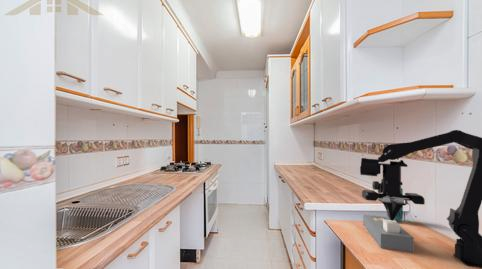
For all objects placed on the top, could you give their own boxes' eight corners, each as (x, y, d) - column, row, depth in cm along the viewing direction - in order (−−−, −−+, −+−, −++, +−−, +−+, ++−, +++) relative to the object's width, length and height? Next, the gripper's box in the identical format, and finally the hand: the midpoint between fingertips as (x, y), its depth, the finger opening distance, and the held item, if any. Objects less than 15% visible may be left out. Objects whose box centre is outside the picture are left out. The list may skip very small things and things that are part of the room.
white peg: (395, 233, 84) (395, 220, 84) (399, 237, 80) (399, 224, 80) (383, 232, 85) (383, 219, 85) (387, 236, 81) (387, 223, 81)
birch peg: (383, 229, 96) (383, 218, 96) (386, 233, 92) (386, 221, 92) (372, 228, 97) (372, 217, 97) (375, 232, 93) (375, 220, 93)
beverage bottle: (387, 221, 106) (387, 179, 107) (386, 217, 112) (386, 177, 113) (404, 224, 103) (404, 180, 104) (401, 220, 109) (402, 178, 110)
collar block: (388, 228, 98) (388, 216, 98) (413, 252, 76) (413, 237, 77) (363, 225, 100) (363, 214, 100) (380, 247, 79) (380, 233, 79)
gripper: (409, 176, 89) (409, 215, 88) (358, 173, 93) (358, 211, 93) (425, 180, 78) (425, 226, 77) (366, 177, 83) (366, 220, 82)
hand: (391, 220), depth 83 cm, fingers closed
